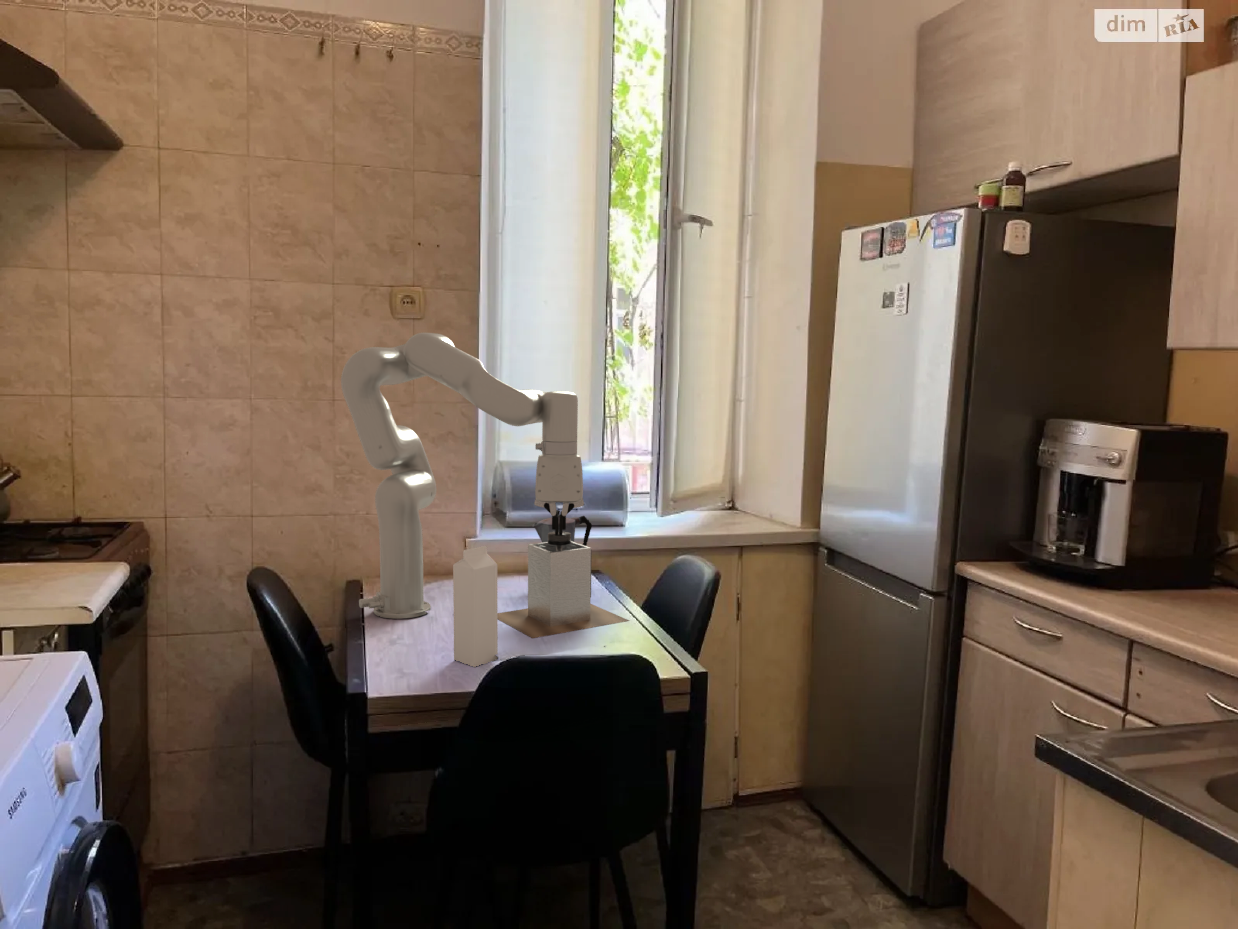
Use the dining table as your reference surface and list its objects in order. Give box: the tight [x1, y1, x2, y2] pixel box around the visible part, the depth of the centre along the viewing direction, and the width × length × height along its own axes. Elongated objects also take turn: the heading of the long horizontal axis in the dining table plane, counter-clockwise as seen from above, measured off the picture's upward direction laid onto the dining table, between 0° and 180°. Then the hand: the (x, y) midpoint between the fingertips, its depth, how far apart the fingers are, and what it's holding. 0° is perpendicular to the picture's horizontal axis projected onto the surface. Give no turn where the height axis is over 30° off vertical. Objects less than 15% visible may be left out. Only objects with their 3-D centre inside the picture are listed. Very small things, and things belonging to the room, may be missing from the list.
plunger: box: [548, 532, 571, 551], centre depth 200 cm, size 8×8×13 cm
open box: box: [527, 541, 593, 627], centre depth 201 cm, size 13×10×16 cm
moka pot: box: [532, 509, 593, 547], centre depth 231 cm, size 10×15×20 cm, turn 115°
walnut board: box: [497, 603, 630, 639], centre depth 201 cm, size 24×20×1 cm
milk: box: [452, 545, 499, 668], centre depth 175 cm, size 6×6×22 cm
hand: (558, 532), depth 199 cm, fingers closed
